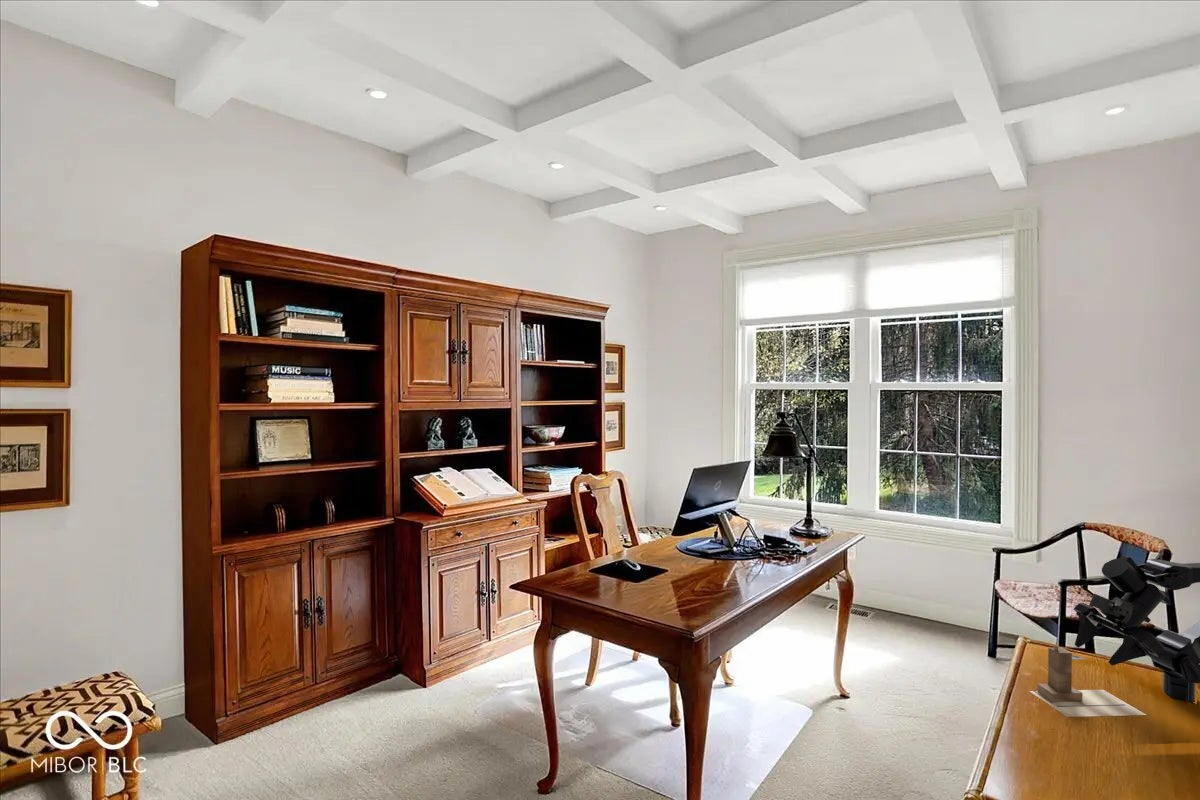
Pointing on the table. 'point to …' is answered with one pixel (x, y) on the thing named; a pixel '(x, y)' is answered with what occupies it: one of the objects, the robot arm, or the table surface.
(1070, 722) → the table surface
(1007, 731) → the table surface
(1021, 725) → the table surface
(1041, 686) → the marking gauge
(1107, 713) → the birch board
